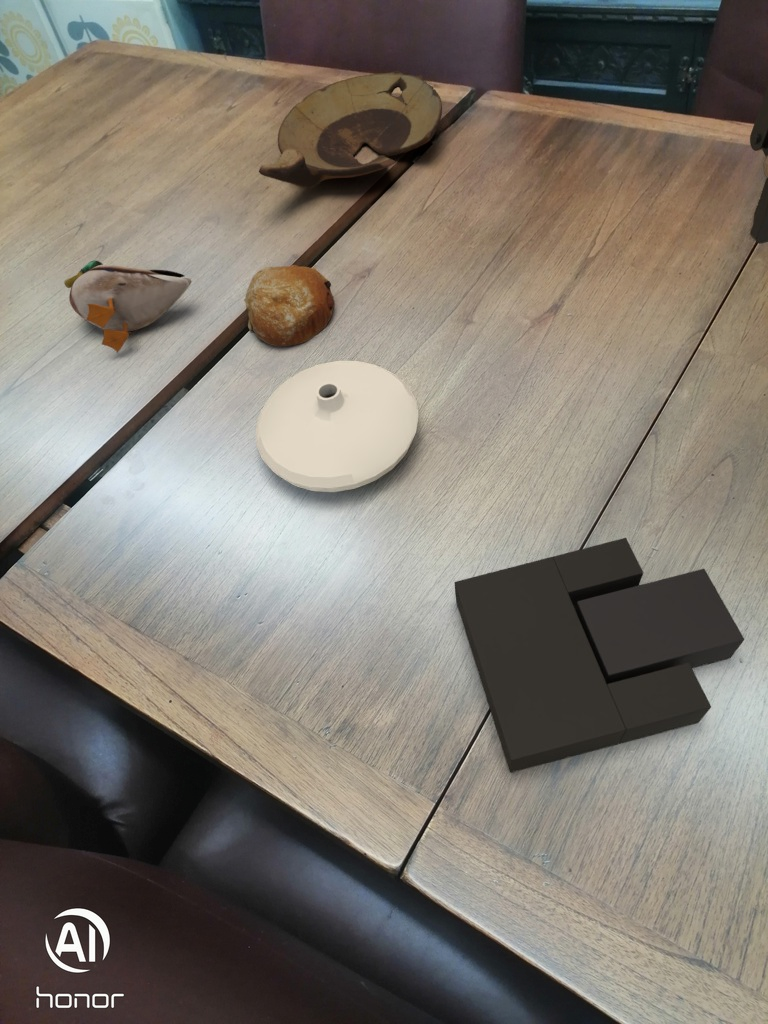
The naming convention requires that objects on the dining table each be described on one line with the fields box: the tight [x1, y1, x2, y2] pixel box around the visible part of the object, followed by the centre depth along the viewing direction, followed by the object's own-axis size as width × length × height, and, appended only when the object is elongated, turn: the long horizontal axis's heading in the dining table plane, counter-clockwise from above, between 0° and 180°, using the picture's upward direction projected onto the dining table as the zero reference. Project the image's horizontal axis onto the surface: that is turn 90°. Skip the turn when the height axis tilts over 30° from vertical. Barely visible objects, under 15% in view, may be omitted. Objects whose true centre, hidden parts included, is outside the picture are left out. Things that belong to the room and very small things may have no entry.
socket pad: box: [454, 537, 712, 773], centre depth 52 cm, size 14×14×4 cm
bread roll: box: [243, 264, 335, 348], centre depth 78 cm, size 10×10×8 cm
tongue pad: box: [575, 568, 745, 684], centre depth 52 cm, size 10×6×4 cm, turn 102°
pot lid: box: [255, 360, 420, 493], centre depth 65 cm, size 16×16×7 cm
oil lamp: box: [258, 70, 443, 189], centre depth 94 cm, size 22×30×8 cm
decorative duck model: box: [63, 260, 192, 353], centre depth 81 cm, size 15×8×15 cm
